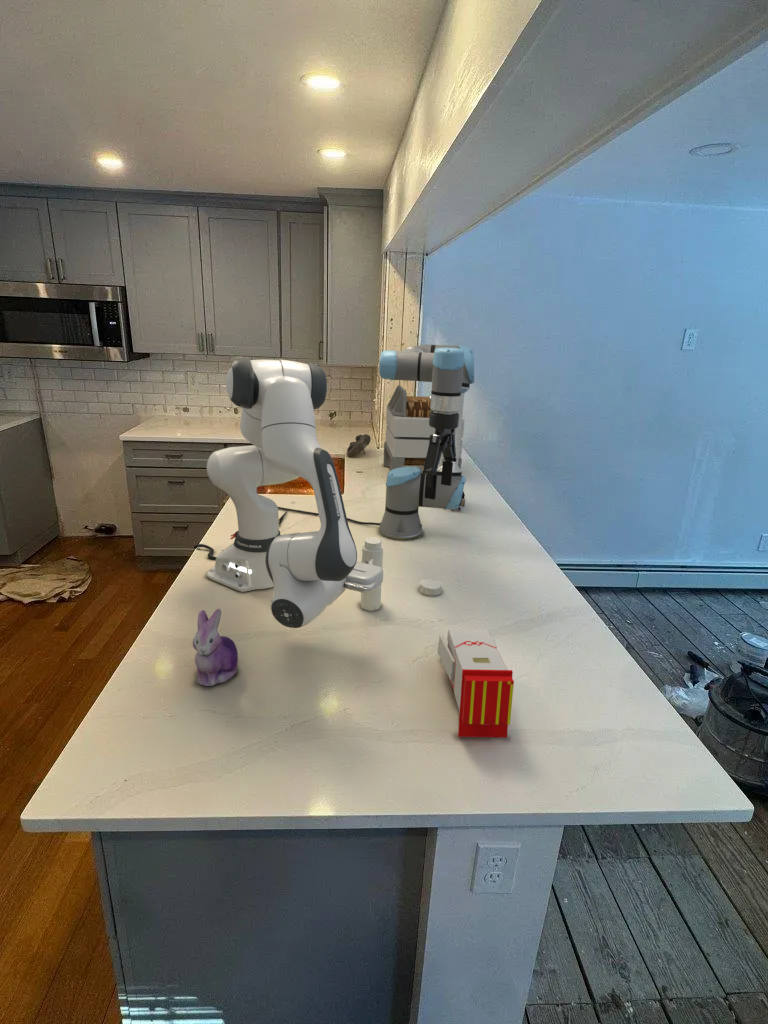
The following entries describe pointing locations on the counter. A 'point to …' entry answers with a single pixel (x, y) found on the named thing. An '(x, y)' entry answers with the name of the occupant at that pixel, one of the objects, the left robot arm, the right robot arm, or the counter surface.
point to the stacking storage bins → (409, 431)
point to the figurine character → (462, 501)
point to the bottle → (374, 552)
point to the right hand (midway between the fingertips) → (438, 491)
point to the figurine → (213, 651)
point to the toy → (478, 682)
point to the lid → (430, 587)
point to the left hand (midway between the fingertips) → (353, 557)
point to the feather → (282, 518)
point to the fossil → (358, 445)
